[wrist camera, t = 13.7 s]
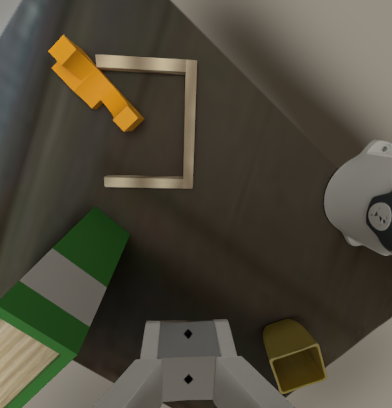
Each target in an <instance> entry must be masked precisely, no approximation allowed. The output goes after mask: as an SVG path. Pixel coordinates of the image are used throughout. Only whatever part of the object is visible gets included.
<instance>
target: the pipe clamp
mask: <svg viewBox="0 0 392 408" xmlns="http://www.w3.org/2000/svg"><path fill="white" fill-rule="evenodd" d="M48 52H49V53H50V54H51V55H52V56H53V57H54V58H55V59H56V60H57V61H58V62H57V63H56V64H55V65H54V66H53V67H52V69H53V70H54V71H55V72H56V73H57V75H58V76H59V77H60V78H61V79H62V80H63V81H64V82H65V83H66V84H67V85H68V86H69V87H70V88H71V89H72V90H73V91H74V92H75V93H76V94H77V95H78V96H79V97H81V98H82V99H83V100H84V101H85V102H86V103H87V104H88V105H89V106H90V107H91V108H92V109H96V110H97V109H98V108H99V107H100V106H101V105H102V104H103V103H104V104H105V106H106V107H107V108H108V109H109V111H110V112H111V114H112V115H113V117H114V119H113V121H114V122H115V123H116V124H117V125H118V126H119V127H120V128H121V129H122V130H123V131H124V132H127V131H133V130H134V129H135V128H136V127H137V126H138V125H139V124H140V123H141V122H142V121H143V120H144V118H143V117H142V116H141V115H140V113H139V112H138V111H137V110H136V109H135V108H134V107H133V106H132V105H131V103H130V102H129V101H128V100H127V99H126V98H125V97H124V96H123V94H122V93H121V92H120V91H119V90H118V89H117V88H116V87H115V86H114V84H113V83H112V82H111V81H110V80H109V79H108V78H107V77H106V76H105V74H104V73H103V72H102V71H101V70H100V69H98V68H97V67H96V64H95V63H94V62H93V61H92V60H91V59H90V58H89V57H88V55H87V54H86V53H85V52H84V51H83V50H82V49H81V48H79V47H78V46H77V45H76V44H74V43H73V42H72V41H70V40H69V39H68V38H67V37H65V36H64V35H63V36H62V37H61V38H60V39H59V40H58V41H57V42H56V43H55V44H54V46H53V47H52V48H51V49H50V50H49V51H48Z"/></svg>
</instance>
